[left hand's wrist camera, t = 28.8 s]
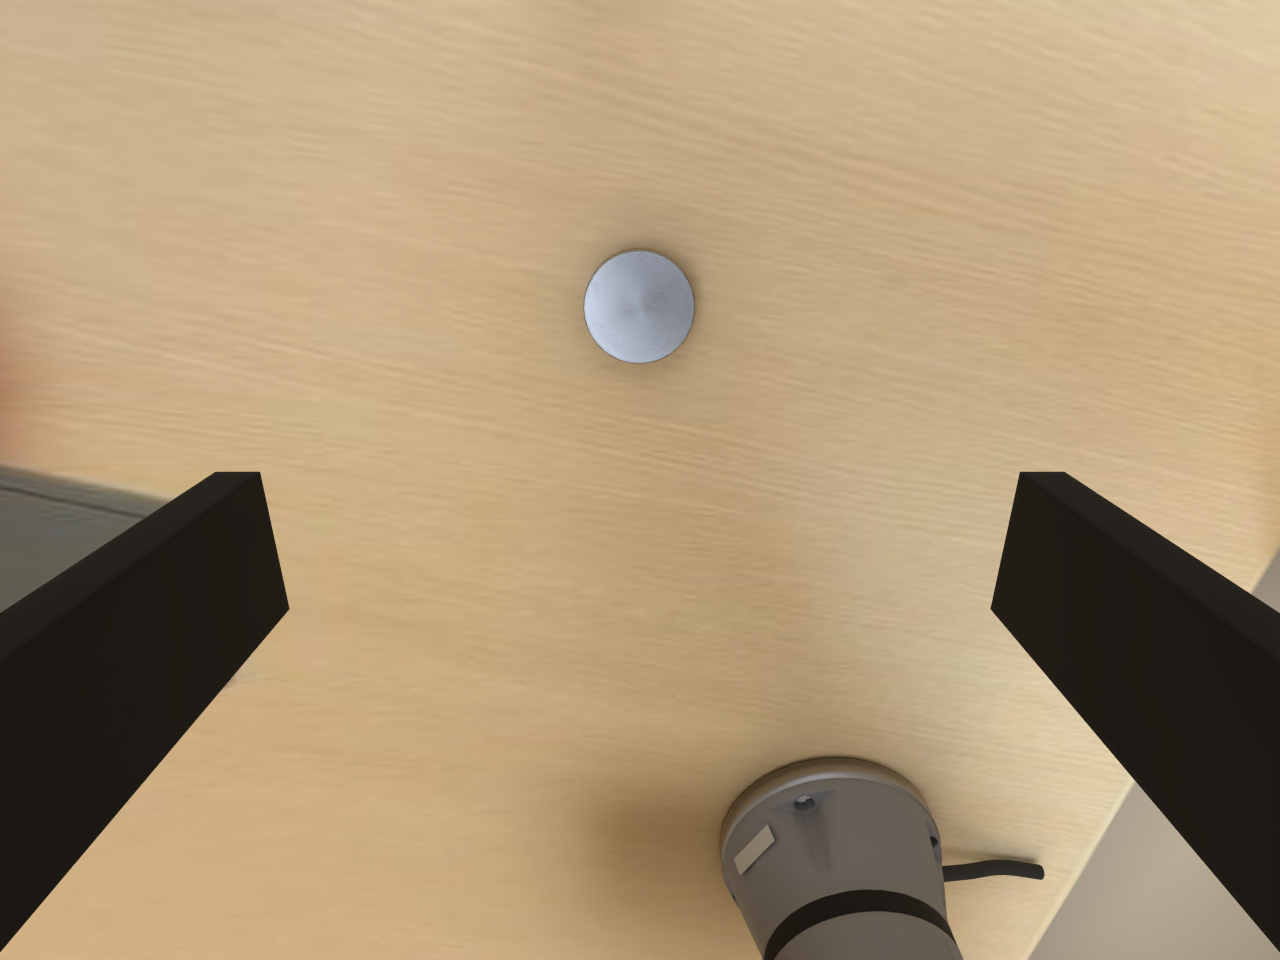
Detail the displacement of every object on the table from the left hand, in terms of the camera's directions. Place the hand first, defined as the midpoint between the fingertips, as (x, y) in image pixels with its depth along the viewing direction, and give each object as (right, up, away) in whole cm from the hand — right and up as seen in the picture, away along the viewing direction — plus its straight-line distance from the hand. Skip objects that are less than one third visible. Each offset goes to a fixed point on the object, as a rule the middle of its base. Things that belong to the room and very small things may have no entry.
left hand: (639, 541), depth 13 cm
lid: (0, +10, +24) cm, 26 cm away
